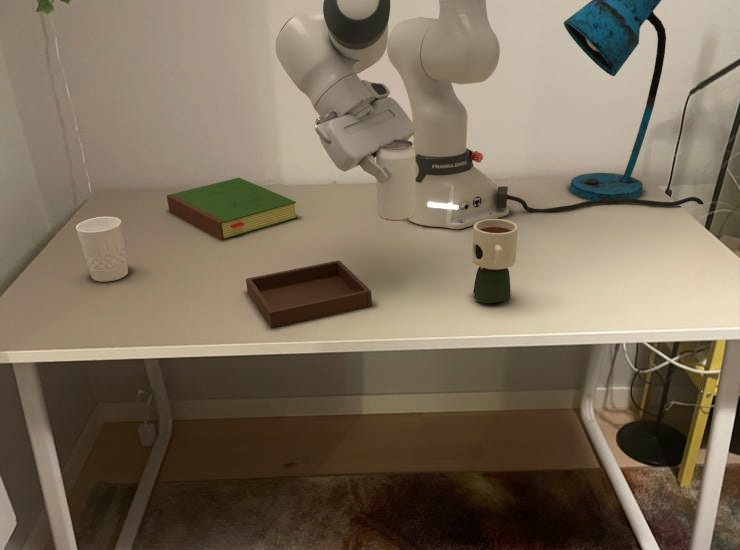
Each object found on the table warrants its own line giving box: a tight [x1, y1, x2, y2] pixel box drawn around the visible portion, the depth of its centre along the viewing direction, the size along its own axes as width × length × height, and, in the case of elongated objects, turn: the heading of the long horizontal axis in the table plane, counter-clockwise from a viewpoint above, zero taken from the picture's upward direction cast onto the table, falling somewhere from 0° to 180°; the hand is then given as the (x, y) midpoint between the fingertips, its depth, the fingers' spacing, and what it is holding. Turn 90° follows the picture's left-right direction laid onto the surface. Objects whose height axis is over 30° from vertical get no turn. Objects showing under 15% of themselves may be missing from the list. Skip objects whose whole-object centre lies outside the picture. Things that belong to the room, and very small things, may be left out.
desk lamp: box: [563, 0, 667, 201], centre depth 161 cm, size 16×22×45 cm
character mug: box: [471, 218, 519, 304], centre depth 123 cm, size 11×7×13 cm, turn 179°
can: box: [375, 139, 416, 222], centre depth 124 cm, size 6×6×12 cm
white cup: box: [75, 216, 129, 283], centre depth 138 cm, size 8×8×10 cm
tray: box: [245, 260, 373, 329], centre depth 128 cm, size 18×15×3 cm
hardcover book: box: [166, 177, 298, 241], centre depth 166 cm, size 25×19×4 cm
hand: (399, 173), depth 123 cm, fingers closed on can, 6 cm apart
